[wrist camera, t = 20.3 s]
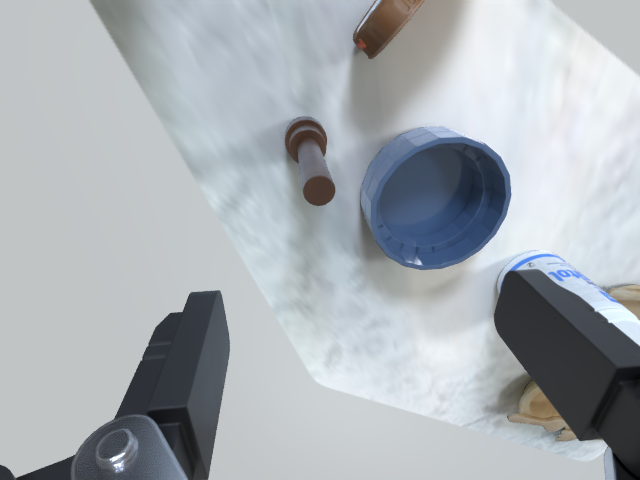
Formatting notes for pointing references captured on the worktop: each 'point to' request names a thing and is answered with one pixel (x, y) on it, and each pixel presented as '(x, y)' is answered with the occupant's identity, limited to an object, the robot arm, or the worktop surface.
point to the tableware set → (536, 404)
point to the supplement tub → (577, 288)
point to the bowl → (435, 197)
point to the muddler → (310, 159)
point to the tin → (383, 24)
